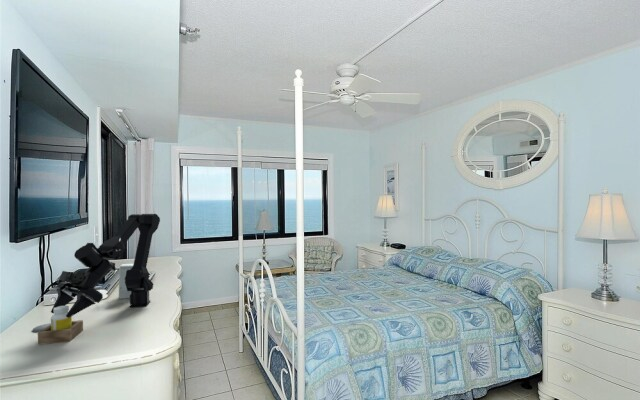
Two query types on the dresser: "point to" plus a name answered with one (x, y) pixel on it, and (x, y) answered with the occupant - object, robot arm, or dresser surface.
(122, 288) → the skincare box
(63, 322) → the supplement bottle
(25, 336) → the dresser surface
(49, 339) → the wooden tray
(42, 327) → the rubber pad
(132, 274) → the robot arm
